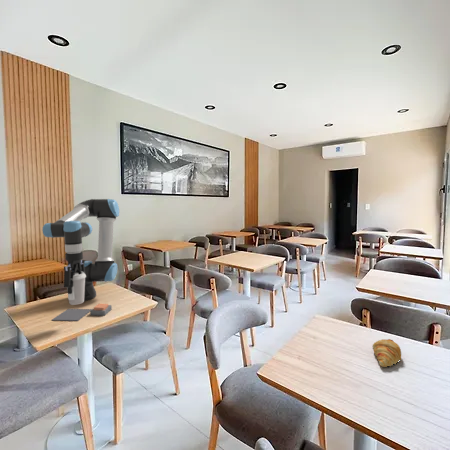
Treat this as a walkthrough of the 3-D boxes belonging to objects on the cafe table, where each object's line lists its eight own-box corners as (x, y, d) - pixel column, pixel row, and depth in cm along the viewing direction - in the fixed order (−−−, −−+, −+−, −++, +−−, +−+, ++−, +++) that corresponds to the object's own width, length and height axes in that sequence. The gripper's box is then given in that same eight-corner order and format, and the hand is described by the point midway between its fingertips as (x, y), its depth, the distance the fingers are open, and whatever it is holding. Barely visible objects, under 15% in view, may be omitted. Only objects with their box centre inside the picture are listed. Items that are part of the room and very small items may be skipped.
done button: (98, 307, 152) (98, 303, 152) (108, 307, 152) (108, 303, 151) (93, 311, 146) (93, 307, 146) (103, 312, 146) (103, 307, 146)
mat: (68, 309, 153) (68, 308, 153) (92, 310, 152) (92, 309, 152) (51, 320, 139) (51, 319, 139) (77, 321, 138) (77, 320, 138)
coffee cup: (81, 306, 129) (79, 276, 128) (61, 306, 129) (59, 276, 128) (91, 298, 139) (89, 270, 137) (73, 298, 139) (71, 270, 137)
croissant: (390, 381, 99) (404, 367, 96) (364, 360, 104) (376, 346, 101) (396, 354, 115) (408, 341, 112) (374, 337, 120) (384, 325, 117)
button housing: (98, 309, 153) (97, 305, 153) (111, 309, 153) (111, 305, 153) (90, 315, 145) (90, 310, 145) (104, 315, 145) (104, 311, 145)
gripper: (78, 247, 141) (80, 289, 144) (52, 256, 121) (55, 304, 123) (92, 248, 141) (94, 289, 144) (68, 256, 121) (71, 304, 123)
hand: (76, 296), depth 134 cm, fingers closed on coffee cup, 8 cm apart
